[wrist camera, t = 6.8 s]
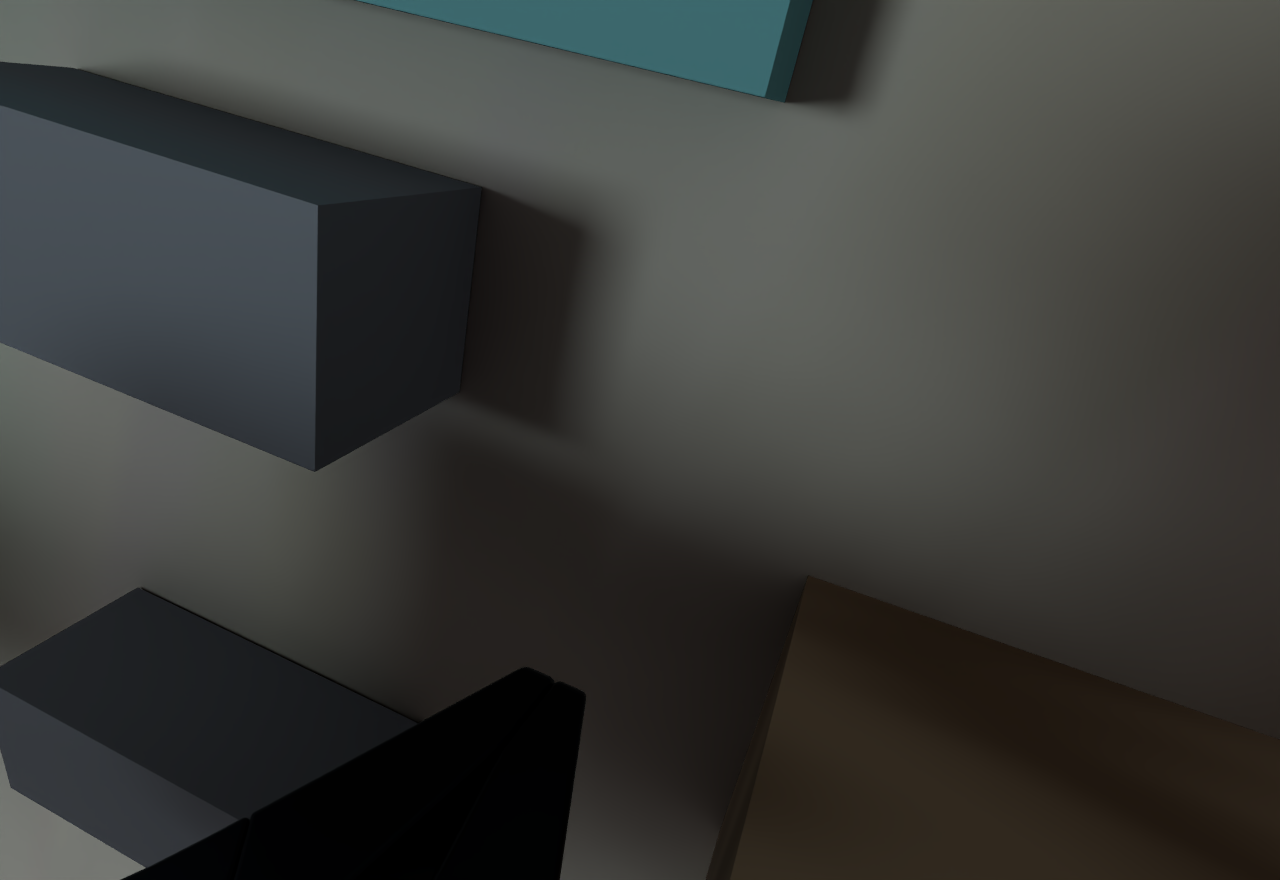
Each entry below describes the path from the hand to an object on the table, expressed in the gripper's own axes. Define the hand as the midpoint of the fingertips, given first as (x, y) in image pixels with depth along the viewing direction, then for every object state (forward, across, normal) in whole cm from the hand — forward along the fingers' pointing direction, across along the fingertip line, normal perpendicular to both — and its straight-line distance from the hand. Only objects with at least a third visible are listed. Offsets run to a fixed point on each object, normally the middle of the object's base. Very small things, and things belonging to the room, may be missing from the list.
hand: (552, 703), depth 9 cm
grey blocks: (+1, +5, 0) cm, 6 cm away
